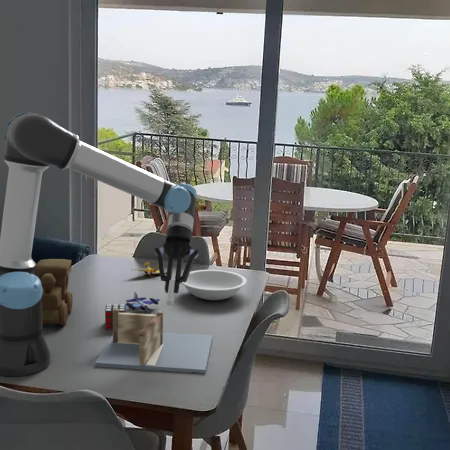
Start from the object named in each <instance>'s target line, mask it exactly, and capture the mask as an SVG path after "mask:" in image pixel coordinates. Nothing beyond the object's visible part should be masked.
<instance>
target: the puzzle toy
mask: <svg viewBox="0 0 450 450" xmlns="http://www.w3.org/2000/svg"><path fill="white" fill-rule="evenodd" d="M126 308H127V307H126V303H123V304H118V303H116V304H114V303H113V304H111V303H110V304H109V303H108V304H105V309H104V313H105V315H104V317H105V318H104V325H105V326H104V327H105V330H113V309H119V313H127V311H126V310H127V309H126Z"/></svg>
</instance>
